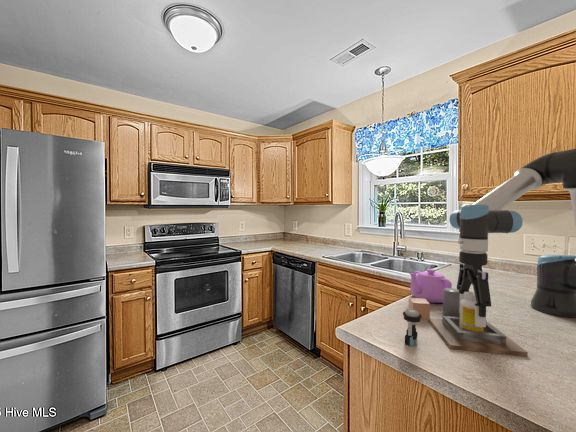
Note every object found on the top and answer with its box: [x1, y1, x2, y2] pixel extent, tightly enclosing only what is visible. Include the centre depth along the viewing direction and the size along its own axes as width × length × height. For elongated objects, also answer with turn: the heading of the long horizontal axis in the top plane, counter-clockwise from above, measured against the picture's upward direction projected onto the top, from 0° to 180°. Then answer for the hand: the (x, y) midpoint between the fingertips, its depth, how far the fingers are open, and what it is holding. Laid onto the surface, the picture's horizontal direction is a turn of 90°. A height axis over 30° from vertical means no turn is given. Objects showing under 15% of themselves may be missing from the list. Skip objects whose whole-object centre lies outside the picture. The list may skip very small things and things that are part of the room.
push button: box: [402, 308, 422, 347], centre depth 83 cm, size 7×5×10 cm
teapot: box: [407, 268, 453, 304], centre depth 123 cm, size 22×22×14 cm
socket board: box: [428, 315, 529, 357], centre depth 87 cm, size 20×20×4 cm
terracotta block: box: [408, 297, 431, 320], centre depth 104 cm, size 6×6×6 cm
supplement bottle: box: [459, 291, 484, 333], centre depth 87 cm, size 7×7×13 cm
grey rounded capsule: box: [442, 288, 460, 317], centre depth 103 cm, size 7×7×10 cm
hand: (471, 319), depth 87 cm, fingers open, 10 cm apart
